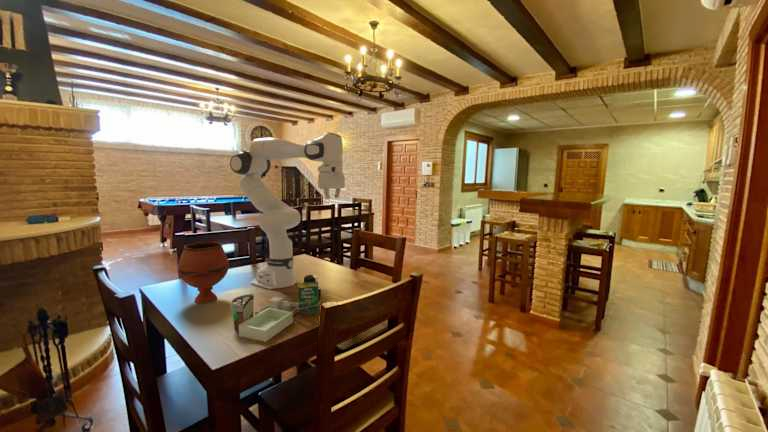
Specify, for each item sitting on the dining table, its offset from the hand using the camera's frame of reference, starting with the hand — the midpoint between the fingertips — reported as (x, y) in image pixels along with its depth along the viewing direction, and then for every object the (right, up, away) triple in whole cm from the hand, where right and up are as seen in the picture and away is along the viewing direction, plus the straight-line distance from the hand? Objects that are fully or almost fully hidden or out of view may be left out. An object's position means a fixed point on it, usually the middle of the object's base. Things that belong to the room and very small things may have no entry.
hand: (332, 198), depth 146 cm
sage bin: (-18, -49, -33) cm, 62 cm away
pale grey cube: (-16, -48, -19) cm, 54 cm away
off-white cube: (-20, -48, -17) cm, 54 cm away
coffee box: (-7, -48, -19) cm, 52 cm away
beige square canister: (-8, -47, -7) cm, 48 cm away
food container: (-29, -49, -31) cm, 65 cm away
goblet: (-55, -46, -8) cm, 72 cm away
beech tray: (-19, -48, -18) cm, 54 cm away
